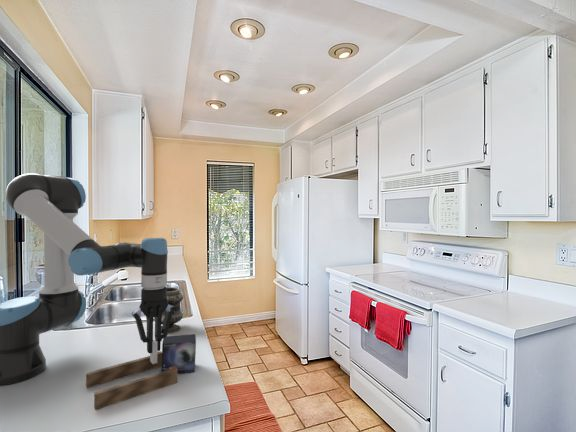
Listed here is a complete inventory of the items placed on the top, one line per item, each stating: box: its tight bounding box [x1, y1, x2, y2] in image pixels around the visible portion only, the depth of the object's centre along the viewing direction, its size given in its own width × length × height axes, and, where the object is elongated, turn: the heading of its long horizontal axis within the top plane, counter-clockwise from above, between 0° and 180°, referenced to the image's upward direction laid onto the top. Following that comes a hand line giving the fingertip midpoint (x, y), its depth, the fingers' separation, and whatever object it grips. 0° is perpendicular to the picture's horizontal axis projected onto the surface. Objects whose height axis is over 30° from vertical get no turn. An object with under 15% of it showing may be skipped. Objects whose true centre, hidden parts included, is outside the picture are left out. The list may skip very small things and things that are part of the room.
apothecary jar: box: [153, 286, 184, 334], centre depth 144 cm, size 12×12×18 cm
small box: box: [160, 333, 197, 375], centre depth 108 cm, size 11×6×10 cm, turn 108°
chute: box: [85, 350, 178, 411], centre depth 98 cm, size 22×15×5 cm
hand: (153, 361), depth 102 cm, fingers closed
